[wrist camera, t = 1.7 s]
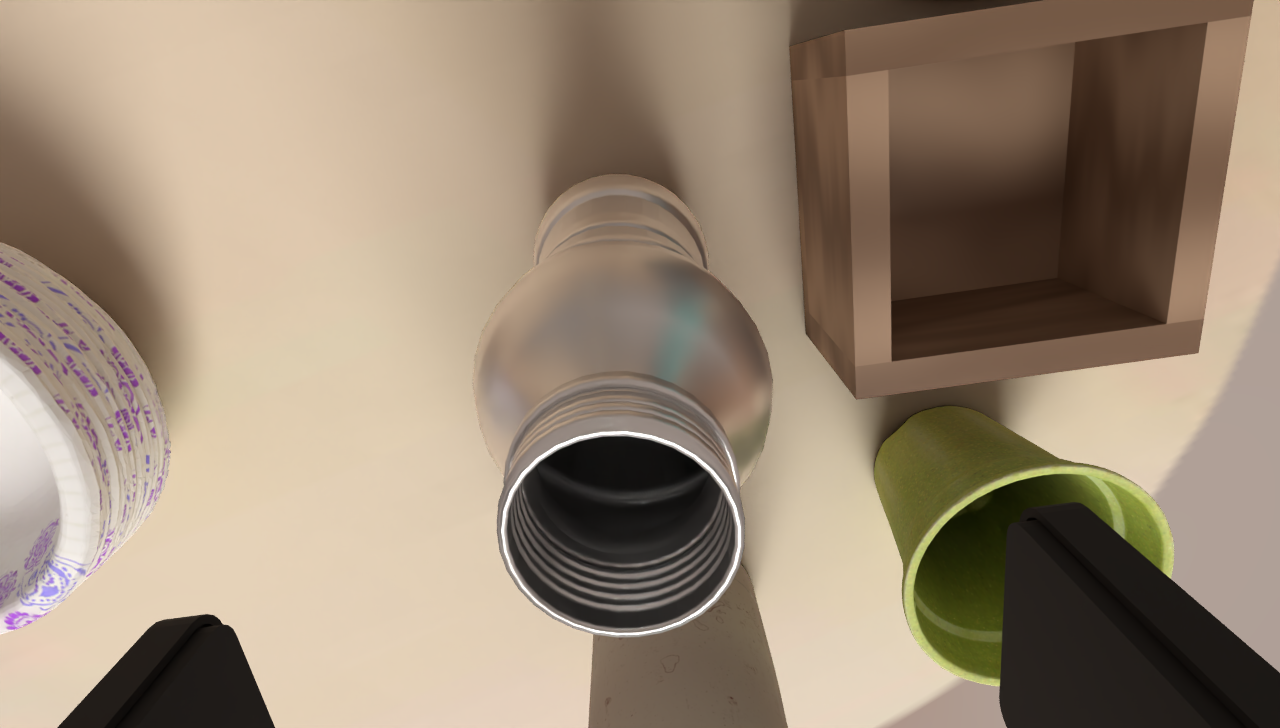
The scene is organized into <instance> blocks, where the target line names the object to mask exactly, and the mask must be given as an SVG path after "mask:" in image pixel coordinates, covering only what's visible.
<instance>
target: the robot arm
mask: <svg viewBox="0 0 1280 728" xmlns="http://www.w3.org/2000/svg"><path fill="white" fill-rule="evenodd" d="M999 699H1000V707H1001V712H1002V715H1003V719H1004V721H1005V724H1006V726H1007V728H1280V673H1279V672H1278V671H1277V670H1276V669H1275V668H1273V667H1272V666H1271V665H1270V664H1269V663H1268V662H1266V661H1265V660H1264V659H1263V658H1262V657H1261V656H1259V655H1258V654H1257V653H1256V652H1255V651H1254V650H1252V649H1251V648H1250V647H1249V646H1248V645H1247V644H1246V643H1244V642H1243V641H1242V640H1241V639H1240V638H1239V637H1237V636H1236V635H1235V634H1234V633H1233V632H1232V631H1230V630H1229V629H1228V628H1227V627H1226V626H1225V625H1224V624H1222V623H1221V622H1220V621H1219V620H1218V619H1216V618H1215V617H1214V616H1213V615H1212V614H1211V613H1210V612H1208V611H1207V610H1206V609H1205V608H1204V607H1203V606H1201V605H1200V604H1199V603H1198V602H1197V601H1196V600H1194V599H1193V598H1192V597H1191V596H1190V595H1188V594H1187V593H1186V592H1185V591H1184V590H1183V589H1182V588H1181V587H1179V586H1178V585H1177V584H1176V583H1175V582H1174V581H1172V580H1171V579H1170V578H1169V577H1168V576H1167V575H1166V574H1164V573H1163V572H1162V571H1161V570H1160V569H1159V568H1157V567H1156V566H1155V565H1154V564H1153V563H1152V562H1150V561H1149V560H1148V559H1147V558H1146V557H1145V556H1144V555H1142V554H1141V553H1140V552H1139V551H1138V550H1137V549H1135V548H1134V547H1133V546H1132V545H1131V544H1130V543H1128V542H1127V541H1126V540H1125V539H1124V538H1123V537H1121V536H1120V535H1119V534H1118V533H1117V532H1116V531H1115V530H1113V529H1112V528H1111V527H1110V526H1109V525H1108V524H1106V523H1105V522H1104V521H1103V520H1102V519H1101V518H1099V517H1098V516H1097V515H1096V514H1095V513H1094V512H1092V511H1091V510H1090V509H1089V508H1088V507H1086V506H1085V505H1083V504H1082V503H1078V502H1070V503H1062V504H1054V505H1047V506H1039V507H1031V508H1027V509H1025V510H1023V512H1022V514H1021V516H1020V521H1019V522H1015V523H1012V524H1010V525H1009V527H1008V530H1007V540H1006V562H1005V584H1004V606H1003V628H1002V650H1001V672H1000V695H999ZM58 728H275V727H274V724H273V722H272V719H271V717H270V715H269V712H268V710H267V707H266V705H265V703H264V700H263V698H262V695H261V693H260V691H259V688H258V686H257V683H256V681H255V679H254V676H253V674H252V671H251V669H250V667H249V664H248V662H247V659H246V657H245V655H244V652H243V650H242V647H241V645H240V643H239V640H238V638H237V635H236V633H235V632H234V630H233V628H231V627H230V626H228V625H223V624H222V623H221V621H220V620H219V619H218V618H217V617H215V616H214V615H209V614H205V615H197V616H189V617H182V618H174V619H166V620H162V621H159V622H156V623H155V624H154V625H152V626H151V627H150V628H149V629H148V630H147V631H146V632H145V633H144V634H143V635H142V636H141V637H140V638H139V640H138V641H137V642H136V643H135V644H134V645H133V646H132V647H131V648H130V649H129V650H128V652H127V653H126V654H125V655H124V656H123V657H122V658H121V659H120V660H119V661H118V662H117V663H116V665H115V666H114V667H113V668H112V669H111V670H110V671H109V672H108V673H107V674H106V675H105V677H104V678H103V679H102V680H101V681H100V682H99V683H98V684H97V685H96V686H95V687H94V688H93V690H92V691H91V692H90V693H89V694H88V695H87V696H86V697H85V698H84V699H83V700H82V702H81V703H80V704H79V705H78V706H77V707H76V708H75V709H74V710H73V711H72V712H71V713H70V715H69V716H68V717H67V718H66V719H65V720H64V721H63V722H62V723H61V724H60V725H59V727H58Z"/></svg>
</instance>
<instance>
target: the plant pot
mask: <svg viewBox="0 0 1280 728" xmlns="http://www.w3.org/2000/svg"><path fill="white" fill-rule="evenodd" d="M874 479H875V484H876V488H877V491H878V494H879V497H880V500H881V503H882V505H883V508H884V511H885V513H886V516H887V519H888V521H889V524H890V527H891V530H892V533H893V536H894V538H895V541H896V544H897V547H898V550H899V553H900V556H901V559H902V562H903V580H902V601H903V608H904V613H905V616H906V619H907V622H908V625H909V628H910V630H911V632H912V635H913V636H914V638H915V640H916V641H917V643H918V644H919V646H920V647H921V649H922V650H923V651H924V652H925V653H926V654H927V655H928V656H929V657H930V658H931V659H932V660H933V661H934V662H935V663H937V664H938V665H939V666H940V667H941V668H943V669H945V670H947V671H949V672H950V673H952V674H954V675H956V676H959V677H961V678H963V679H966V680H970V681H973V682H977V683H981V684H987V685H992V686H1000V672H1001V650H1002V628H1003V606H1004V584H1005V562H1006V540H1007V530H1008V527H1009V525H1010V524H1012V523H1015V522H1019V521H1020V516H1021V514H1022V512H1023V510H1025V509H1027V508H1031V507H1039V506H1047V505H1054V504H1062V503H1070V502H1078V503H1082V504H1083V505H1085V506H1086V507H1088V508H1089V509H1090V510H1091V511H1092V512H1094V513H1095V514H1096V515H1097V516H1098V517H1099V518H1101V519H1102V520H1103V521H1104V522H1105V523H1106V524H1108V525H1109V526H1110V527H1111V528H1112V529H1113V530H1115V531H1116V532H1117V533H1118V534H1119V535H1120V536H1121V537H1123V538H1124V539H1125V540H1126V541H1127V542H1128V543H1130V544H1131V545H1132V546H1133V547H1134V548H1135V549H1137V550H1138V551H1139V552H1140V553H1141V554H1142V555H1144V556H1145V557H1146V558H1147V559H1148V560H1149V561H1150V562H1152V563H1153V564H1154V565H1155V566H1156V567H1157V568H1159V569H1160V570H1161V571H1162V572H1163V573H1164V574H1166V575H1167V576H1168V577H1169V578H1170V579H1171V576H1172V570H1173V563H1174V542H1173V538H1172V534H1171V531H1170V527H1169V525H1168V522H1167V519H1166V517H1165V515H1164V513H1163V512H1162V510H1161V508H1160V507H1159V505H1158V504H1157V503H1156V502H1155V500H1154V499H1153V498H1152V497H1151V496H1150V495H1149V494H1148V493H1147V492H1146V491H1144V490H1143V489H1142V488H1141V487H1140V486H1138V485H1137V484H1135V483H1134V482H1132V481H1130V480H1129V479H1127V478H1125V477H1124V476H1122V475H1120V474H1118V473H1116V472H1113V471H1110V470H1108V469H1105V468H1102V467H1098V466H1094V465H1089V464H1083V463H1074V462H1071V461H1067V460H1063V459H1059V458H1057V457H1055V456H1054V455H1052V454H1050V453H1049V452H1047V451H1045V450H1043V449H1042V448H1040V447H1038V446H1037V445H1035V444H1033V443H1032V442H1030V441H1028V440H1026V439H1025V438H1023V437H1021V436H1019V435H1018V434H1016V433H1014V432H1013V431H1011V430H1009V429H1008V428H1006V427H1004V426H1003V425H1001V424H999V423H997V422H996V421H994V420H992V419H991V418H989V417H987V416H986V415H984V414H982V413H980V412H977V411H975V410H972V409H969V408H964V407H959V406H943V407H936V408H932V409H928V410H924V411H922V412H919V413H917V414H915V415H913V416H911V417H910V418H909V419H908V420H907V421H906V422H905V423H904V424H903V425H902V426H901V427H900V428H899V429H898V430H897V431H896V432H894V433H893V434H892V435H891V436H890V437H889V438H887V439H886V440H885V441H884V442H883V444H882V446H881V448H880V450H879V452H878V455H877V458H876V461H875V468H874Z"/></svg>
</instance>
